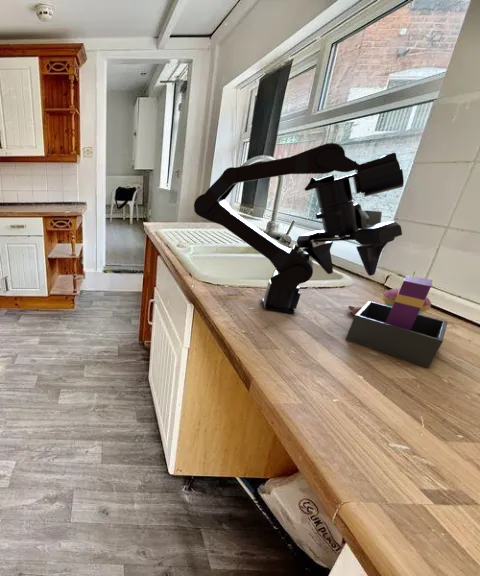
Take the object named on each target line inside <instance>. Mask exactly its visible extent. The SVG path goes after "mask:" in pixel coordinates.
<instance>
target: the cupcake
mask: <svg viewBox="0 0 480 576" xmlns="http://www.w3.org/2000/svg"><path fill="white" fill-rule="evenodd" d="M410 276H414V277H417V275H416V271H413V274H411V275H410ZM399 290H400V288H392V289H388V290H386V291H384V292H383V293H382V295H381V299H382V302H384V305H386V306H390V307H393V304H394V302H395V299H396V297H397V294H398V292H399ZM432 305H433V304H432V301H431V299H430V298H428V296H426V298H425V301H424V303H423V306H422V308H421V309H420V311H419V313H418V314H420V315H422V314H423V313H425V312H428V311H430V310H431V306H432Z"/></svg>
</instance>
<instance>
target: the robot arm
mask: <svg viewBox="0 0 480 576" xmlns="http://www.w3.org/2000/svg"><path fill="white" fill-rule="evenodd" d="M399 162H400V161H399V160H398V158H397V152H391V153H389V154H386V155H383V156H381V157H379V158H376V159H373V160H370V161H366V162H364V163H358V162H357V160H353V159H351V158H350V157H348V156H346V152H345V149H344V148H343V146H341V145H340V144H338V143H335V142H328V143H324V144H321V145H318V146H316V147H315V146H314V147H313V148H309V149H307V150H305V151H301V152H298V153H297V154H294V155H291V156H287V157H282V158H277V159H271V160H266V161H262V162H256V163H251V164H246V165H241V166H236V167H235V166H234V167H233V166H230V167H228V168H226V169H225V170H223V172H222V174H220V176H219V177H218V179H216V180H215V181H214V183H212V184H211V186H210V187H209V188H208V189H207V190H206V191H205V193H203V194H201V195H200V194H199V196H197V197H196V199H195V200H194V203H193V210H194V213H195V214H196V215H197V216H198V217H201V218H202V219H205V220H207V221H209V222H212V223H215V224H217V225H220V226H222V227H223V228H225V229H226V230H228V231H229V232H230V233H232V234H233V235H235V236H236V237H237V238H238V239H240V240H241V241H243V242H244V243H246V244H247V245H249V246H250V247H251V248H253V249H254V250H255V251H257V252H258V253H259V254H261V255H262V256H263V257H265V258H266V259H267V260H269V262H270V263H271V264H272V265H273V267H274V268H275V269H274V271H273V272H272V274H271V276H270V279H269V280H268V282H267V286H266V290H265V292H264V293H265V294H264V297H262V298H261V301H262V304H263V306H264V309H266V310H270V311H275V312H281V313H286V314H296V311H295V310H296V309H297V307H298V304H299V301H300V298H301V295H302V294H301V293H300V290H301V288H300V286H299V285H300V284H304V283H306V282H308V281H309V280H310V279H311V278H312V277H313V274H314V261H313V260H315V262H316V263H317V264H318V265H319V266H320V267H321V268H322V269H323V271H324V272H326V274H327V275H331V274H333V273H334V265H333V261H332V260H333V259H332V253H331V249H332V246H333V244H334V242H340V241H342V242H343V241H352V240H353V241H354V240H355V241H356V242H357V243H358V244H359V245H357V246H355V248H356V250H357V253H358V255H359V258H360V260H361V262H362V265H363V268H364V270H365V272H366V274H367V276H369V277H371V276H374V275H375V274H376V272H377V267H378V265H379V261H380V257H381V255H382V252H383V250H384V248H385V247H386V245H387V244H389V242H393V241H395V239H396V238H398V237H400V236H402V235H403V231H402V225H400V224H399V223H398V222H397V221H387V222H382V213H383V211H380V210H379V211H378V210H365V209H364V210H362V205H360V203H355V202H354V197H353V191H352V187H351V182H350V179H351V178H352V180H353V186H354V191H355V194H356V195H359V194H362V195H363V197H364V198H366V197H370V196H374V195H378V194H382V193H385V192H390V191H393V190H398V189H401V188H403V187H404V182H405V181H404V179H405V178H404V171H403V168H401V165H400V163H399ZM353 171H355V173H352V174H349V175H345V176H342V177H339V178H335V176H334V174H331V175H327V176H325V177H321V178H318V179H317V178H315V177H310V179H309V182H308V184H307V185H306V186H305V187H304V191H306V192H307V191H311V190H315V194H316V198H317V204H318V209H319V213H317V214H315V217H316V220H319V219H321V223H322V228H323V229H320V230H313V231H309V232H307V233H304V234H300V235H298V237H297V239H296V244H293V245H292V246H291V248H289V247H287V246H284V245H282V244H280V243H279V242H277V241H276V240H275V239H273V238H272V237H270V236H269V235H268V234H266V233H265V232H263V231H261V229H259V228H258V227H256V226H254V224H252V223H250V222H249V221H247V220H246V219H245V218H243V217H242V216H240V215H239V214H238V213H236V212H235V211H234V210H233V209H232V207H231V205H229V203H228V202H227V201H226V199H227V198H228V197H229V195H230V194H231V193H232V191H233V190H234V189H235V187H236V186H237V184H240V183H245V182H252V181H259V180H264V179H270V178H275V177H281V176H282V177H283V176H288V175H326V174H330V173H333V172H339V173H350V172H353Z"/></svg>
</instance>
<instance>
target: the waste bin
mask: <svg viewBox="0 0 480 576" xmlns="http://www.w3.org/2000/svg"><path fill="white" fill-rule="evenodd" d="M362 307H363V308H362V309H361V310H360V311H359V312H358V313H357V314H356V315H354V317H353V319H352V322H351V324H350V327H349V329H348V332H347V335H346V337H345V340H347V341H350V342H352V343H356V344H358V345H361V346H364V347H367V348H369V349H372V350H375V351H378V352H381V353H383V354H387V355H390V356H392V357H395V358H399V359H402V360H404V361H407V362H410V363H413V364H415V365H419V366H422V367H424V368H427V369H429V368H430V366H431V364H432V363H433V360H434V359H435V357H436V356H437V354H438V351H439V350H440V348H441V346H442V344H443V343H444V338H445V335H446V331H447V327H448V321H446V320H443V319H439V318H434V317H431V316H427V315H423V314H418V315H417V317H416V319H415V321H414V323H413V326H412V328H411V330H407V329H404V328H400V327H397V326H394V325H390V324H387V323H386V320H387V318H388V316H389V314H390V311H391V309H392V307H390V306H386V305H385V304H382V303H379V302H375V301H371V300H368V301H367V302H366V303H365V305H363V306H362Z"/></svg>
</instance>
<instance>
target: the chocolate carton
mask: <svg viewBox="0 0 480 576" xmlns="http://www.w3.org/2000/svg"><path fill="white" fill-rule="evenodd" d="M432 285H433V279H428V278H425V277H424V278H423V277H419V276H415V277H414V276H411V275H408V274H407V275H406V276H405V278H404V280H403V282H402V284H401V287H400V288H399V289H400V290H399V292H398V294H397V297H396V299H395V302H394V304H393V307H392V309H391V311H390V314H389V316H388V318H387V320H386V323H387V324H390V325H394V326H397V327H400V328H404V329H407V330H411V328H412V326H413V323H414V321H415V319H416V317H417V315H418V313H419V311H420V309H421V308H422V306H423V303H424V301H425V298H426V297H428V294H429V293H430V290H431V288H432Z"/></svg>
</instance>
